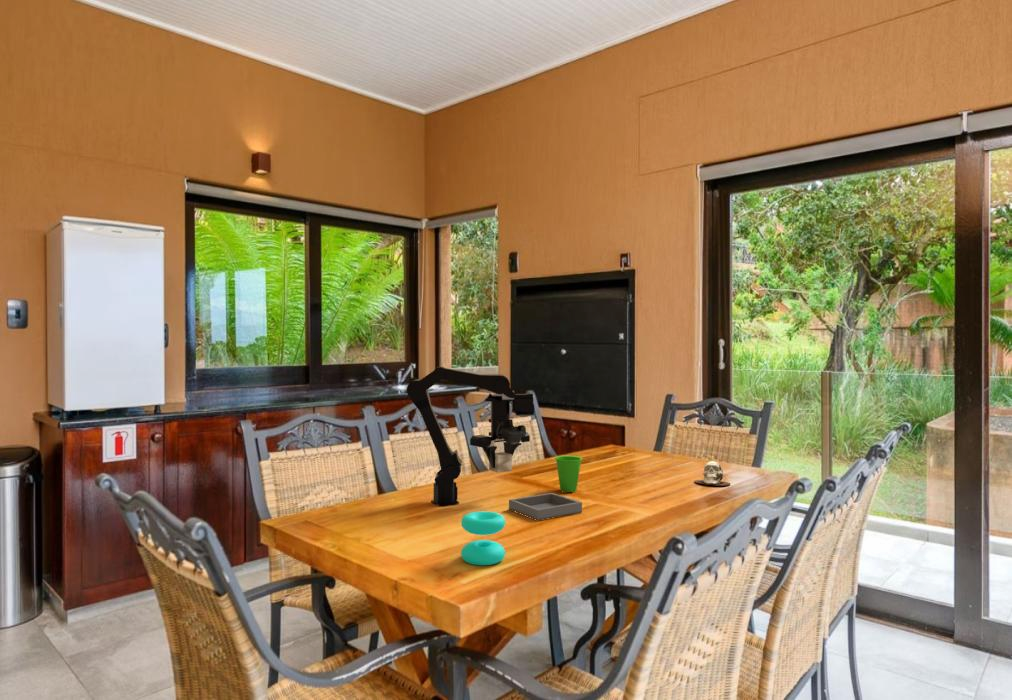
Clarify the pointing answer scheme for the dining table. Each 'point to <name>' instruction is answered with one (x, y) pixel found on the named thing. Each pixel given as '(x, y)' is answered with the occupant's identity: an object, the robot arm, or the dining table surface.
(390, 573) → the dining table surface
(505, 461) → the block
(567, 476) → the cup
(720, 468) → the skull
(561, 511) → the tray
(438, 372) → the robot arm
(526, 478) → the dining table surface
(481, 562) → the donuts
